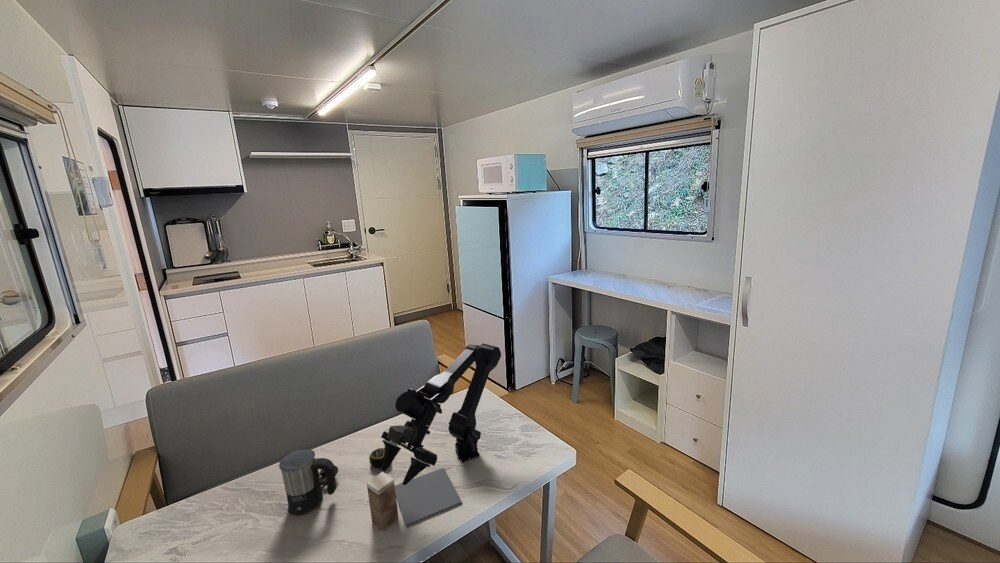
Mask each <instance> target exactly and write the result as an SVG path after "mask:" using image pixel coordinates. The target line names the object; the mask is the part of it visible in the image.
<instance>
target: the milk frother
mask: <svg viewBox="0 0 1000 563" xmlns="http://www.w3.org/2000/svg"><path fill="white" fill-rule="evenodd" d="M315 456H316V453H315V451H314V450H313V449H311V448H309V449H308V448H303V449H299V450H295V451H292V452H290V453H289V454H287V455H286V456H284V457H283V458H282V459H281V461H279V463H278V468H279V470H280V471H281V477H282V480H283V485H284V490H285V494H286V500H287V505H288V506H287V510H288V513H289V514H290V515H293V516H302V515H305V514H306V515H307V514H308V513H310V512H312V511H314V510H315V509H317V507H319V505H320V504H321V503H322V501H323V500H324V495H323V489H324V488H325V487H326V489H327V494H328V495H330V496H331V495H334V494H335V492H336V489H337V481H336V476H337V475H338V472H339V467H338V466H337V465H335V464H334V462H332V460H330V459H328V458H325V457H318V458H316V457H315ZM319 470H320V471H319ZM320 477H322V479H324V480H321V478H320Z"/></svg>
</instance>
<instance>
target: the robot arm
mask: <svg viewBox="0 0 1000 563" xmlns="http://www.w3.org/2000/svg"><path fill="white" fill-rule="evenodd" d="M500 349H501V348H500V347H498V346H495V345H490V344H488V343H481V344H479V345H477V344H467V345H466V346H465V347H464V350H463V351H462V352H461V353H460V354H459V355H458V357H457V358H455V360H453V361H452V363H450V364H449V366H448V367H447V368H446V369H445V370H444V371H443V372H442V373H439V374H435V375H434V376H433V377H432V378H430V379H429V380H427V381H426V382H425V384H424V385H422V386H421V387H420V388H418V389H417V390H415V389H412V388H411V387H409V388H408V389H407V390H406V391H404V392H402V393H401V394H400V395H399V396H398V397H397V398H396V401H395V405H394V406H395V407H394V408H395V410H396V411H397V412H399V413H400V414H403V415H405V416H407V417H409V418H411V420H407V421H406V422H405V423H404V425H398V424H397V425H390V426H389V428H387V429H385V430H384V431H383V432H382V433H381V436H380V438H381V439H382V443H383V445H384V448H385V455H384V461H383V466H382V467H381V472H386V471H387V469H389V467H390V466H391V464H392V462H393V461H394V460H395V458H396V457H397V455H398V454H399V453H400V451H401V449H402V448H404V449H406V450H408V451H409V452H411V453H412V454H413V456H411V457H410V465H409V468H408V470H407V471H406V474H405V476H404V479H403V481H402V482H401V483H402V484H403V485H406V484H407V483H409V482H410V481H411V480H412V479H414V478H416V477H417V476H418V475H419V474H421V472H422V471H423V470H425V469H426V468H431V466H432V467H433V466H435V465H436V464H437V461H438V454H436V453H435V452H433V451H432V450H428V449H427V448H424V445H423V441H424V439H425V437H426V435H430V434H431V431H430V427H431V425H432V423H433V420H434V419H435V417H436V415H437V413H438V414H441V415H442V413H443V410H442V407H441V404H444V403H445V402H446V401H447V400H448V399H449V398H450V396H451V395H452V393H454V387H455V384H456V383H457V381H458V380H459V379H460V378H461V377H462V376H463V375H464V374H465V373H466V372H467V370H469V368H470V367H471V366H472V365H473V364H474V363H475V369H474V373H473V375H472V378H471V380H470V383H469V386H468V389H467V391H466V393H465V397H464V400H463V402H462V405H461V407H460V409H459V410H458V411H453V413H451V414H452V415H451V416H450V420H449V422H448V432H449V435H451V436H452V437H453V438H455V439H456V440H455V441H456V442H455V443H454V446H455V454H456V456H457V458H459V460H460V462H461V463H464V462H467V461H470V460H472V459H475V458H479V457H480V456H481V455H480V453H479V451H478V442H479V440H481V435H482V432H481V431H479V430H477V429H476V427H477V426H476V425H477V420H476V412H477V409H478V406H479V403H480V400H481V398H482V395H483V392H484V390H485V386H486V383H487V381H488V378H489V375H490V372H492V371H493V370H494V369H496V367H497V366H498V364H499V362H500V359H501V357H502V352H501V350H500ZM406 443H407V444H406ZM401 447H402V448H401Z"/></svg>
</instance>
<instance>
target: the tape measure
mask: <svg viewBox="0 0 1000 563" xmlns="http://www.w3.org/2000/svg"><path fill="white" fill-rule="evenodd" d="M384 455H385V447H380V448H376V449H374V450H373V451H372V452H371V453H370V454H369V457H368V458H369V464H370V465H371V467H373V468H376V469H377V468H381V469H382V466H383V461H384Z"/></svg>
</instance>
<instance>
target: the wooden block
mask: <svg viewBox="0 0 1000 563" xmlns="http://www.w3.org/2000/svg"><path fill="white" fill-rule="evenodd" d="M395 485H396V484H395V479H394V478H393V477H391V476H390V475H389V474H387V473H385V471H381V472H380V473H378V474H377V475H376V476H374V477H372V478H371V479H370V480H369V481H367V482H366V489H367V494H368V496H367V497H368V504H369V509H370V515H371V522H372V523H373V524H374V525H375V526H377V528H379V529H380V530H381V531H382V532H384V531H385V530H386V529H387V528H389V527H390V526H392V525H393V524H394V523H395V522H397V521H398V520H399V511H398V510H399V509H398V503H397V502H398V500H397V497H396V493H395Z"/></svg>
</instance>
